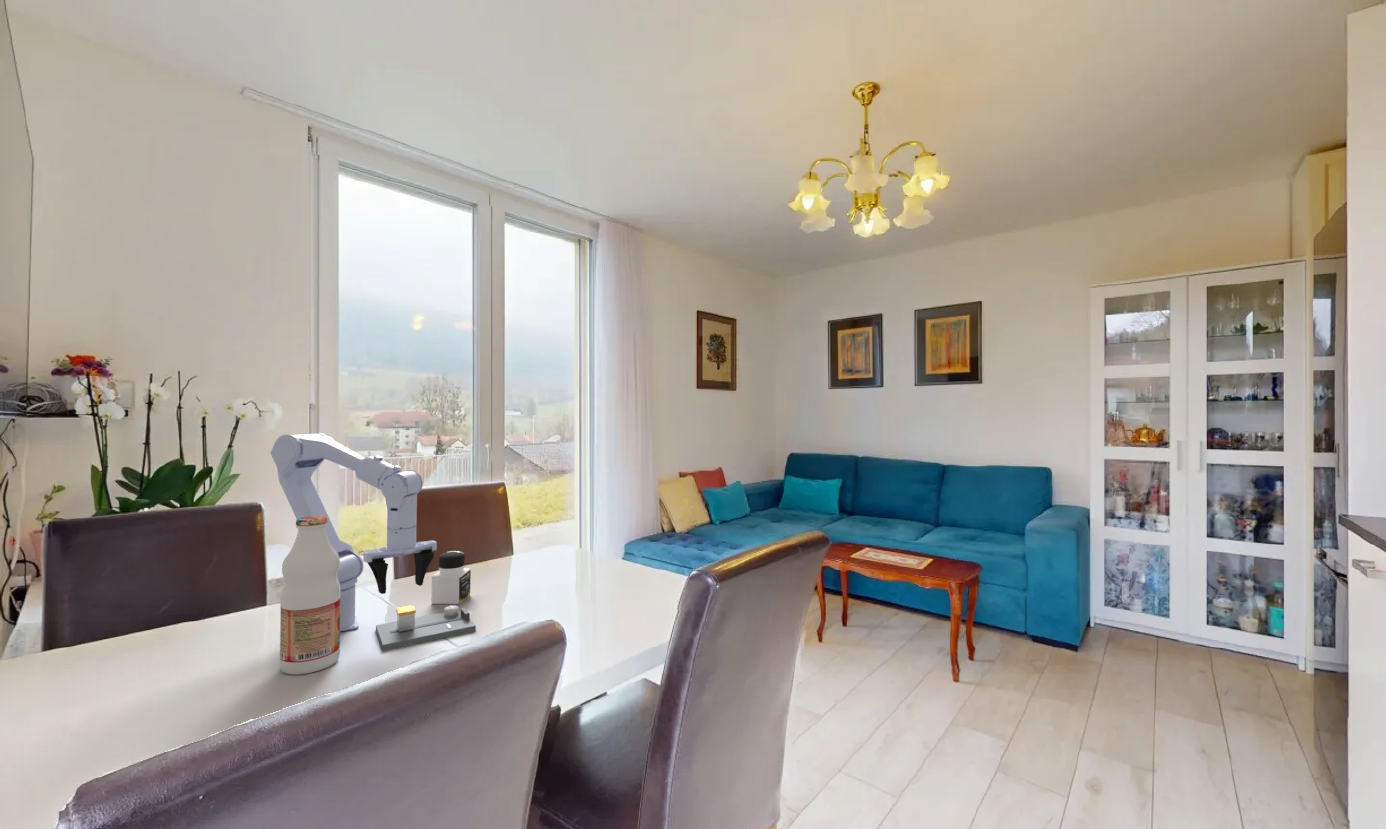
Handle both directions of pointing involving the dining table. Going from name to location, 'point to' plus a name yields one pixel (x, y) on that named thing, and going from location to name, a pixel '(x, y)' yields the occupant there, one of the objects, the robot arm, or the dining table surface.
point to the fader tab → (405, 618)
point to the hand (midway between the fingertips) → (401, 588)
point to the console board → (426, 628)
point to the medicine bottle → (451, 579)
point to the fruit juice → (310, 601)
